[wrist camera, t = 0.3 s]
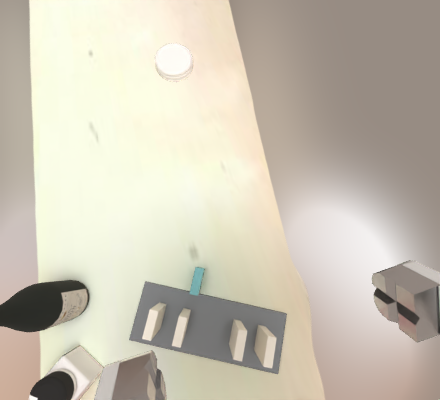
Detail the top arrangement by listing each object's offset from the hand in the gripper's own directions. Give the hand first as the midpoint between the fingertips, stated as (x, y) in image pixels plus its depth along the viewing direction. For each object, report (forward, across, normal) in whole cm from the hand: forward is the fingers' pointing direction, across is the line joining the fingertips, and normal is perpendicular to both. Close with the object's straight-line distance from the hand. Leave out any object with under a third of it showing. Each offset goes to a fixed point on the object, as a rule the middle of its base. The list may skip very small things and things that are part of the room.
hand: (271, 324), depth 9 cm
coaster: (+73, +6, +26) cm, 78 cm away
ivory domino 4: (+40, +6, -37) cm, 55 cm away
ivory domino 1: (+45, -13, -28) cm, 54 cm away
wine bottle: (+50, -31, -20) cm, 62 cm away
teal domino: (+47, -3, -24) cm, 53 cm away
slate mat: (+43, -4, -32) cm, 54 cm away
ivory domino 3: (+41, +1, -35) cm, 54 cm away
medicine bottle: (+43, -31, -33) cm, 63 cm away
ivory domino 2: (+44, -8, -30) cm, 54 cm away
